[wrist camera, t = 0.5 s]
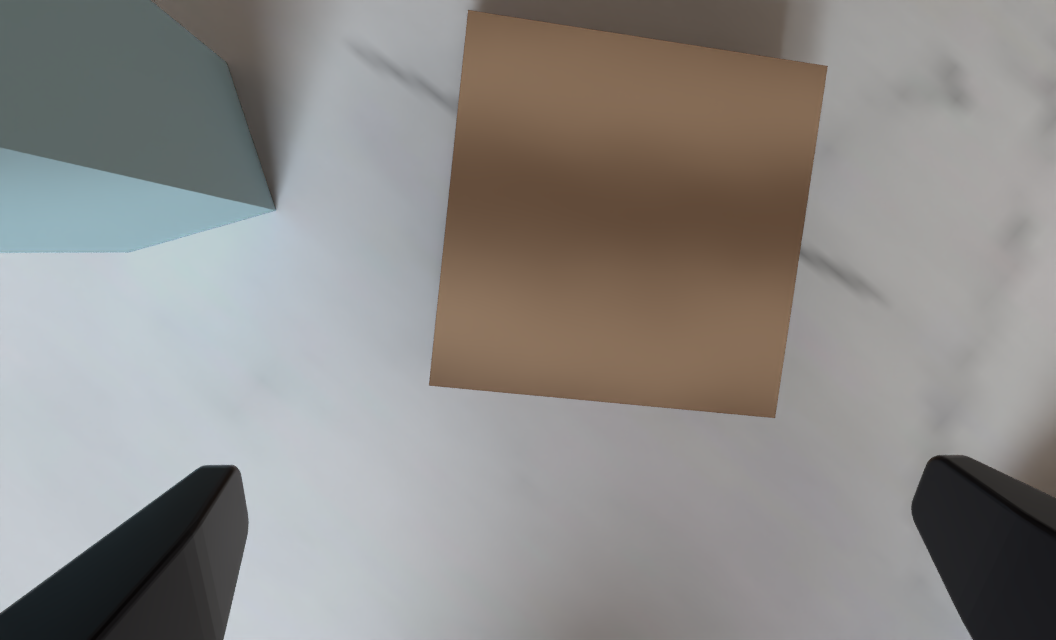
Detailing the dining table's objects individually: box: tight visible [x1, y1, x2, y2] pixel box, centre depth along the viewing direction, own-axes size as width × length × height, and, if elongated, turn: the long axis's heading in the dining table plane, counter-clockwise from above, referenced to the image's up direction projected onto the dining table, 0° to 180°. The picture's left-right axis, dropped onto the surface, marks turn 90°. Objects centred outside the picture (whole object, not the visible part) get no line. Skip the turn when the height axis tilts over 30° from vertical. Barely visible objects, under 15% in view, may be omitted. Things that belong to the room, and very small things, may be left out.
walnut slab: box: [429, 10, 828, 418], centre depth 20 cm, size 10×10×3 cm
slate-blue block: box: [0, 0, 276, 253], centre depth 14 cm, size 4×4×13 cm
